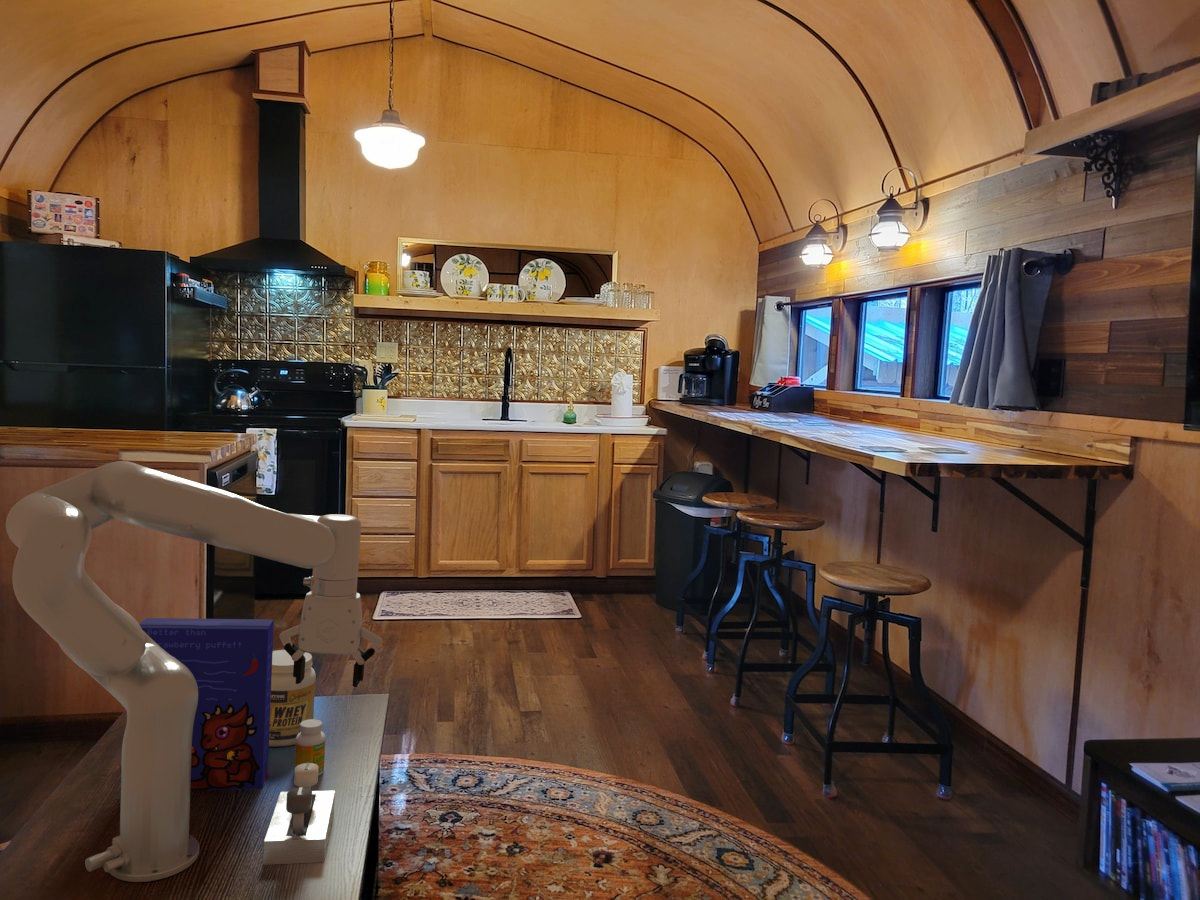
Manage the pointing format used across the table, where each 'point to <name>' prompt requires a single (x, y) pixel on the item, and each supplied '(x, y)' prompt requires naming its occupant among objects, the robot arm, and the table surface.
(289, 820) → the mount
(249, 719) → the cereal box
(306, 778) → the cream knob
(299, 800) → the charcoal knob
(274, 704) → the supplement tub
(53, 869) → the table surface
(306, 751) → the supplement bottle
